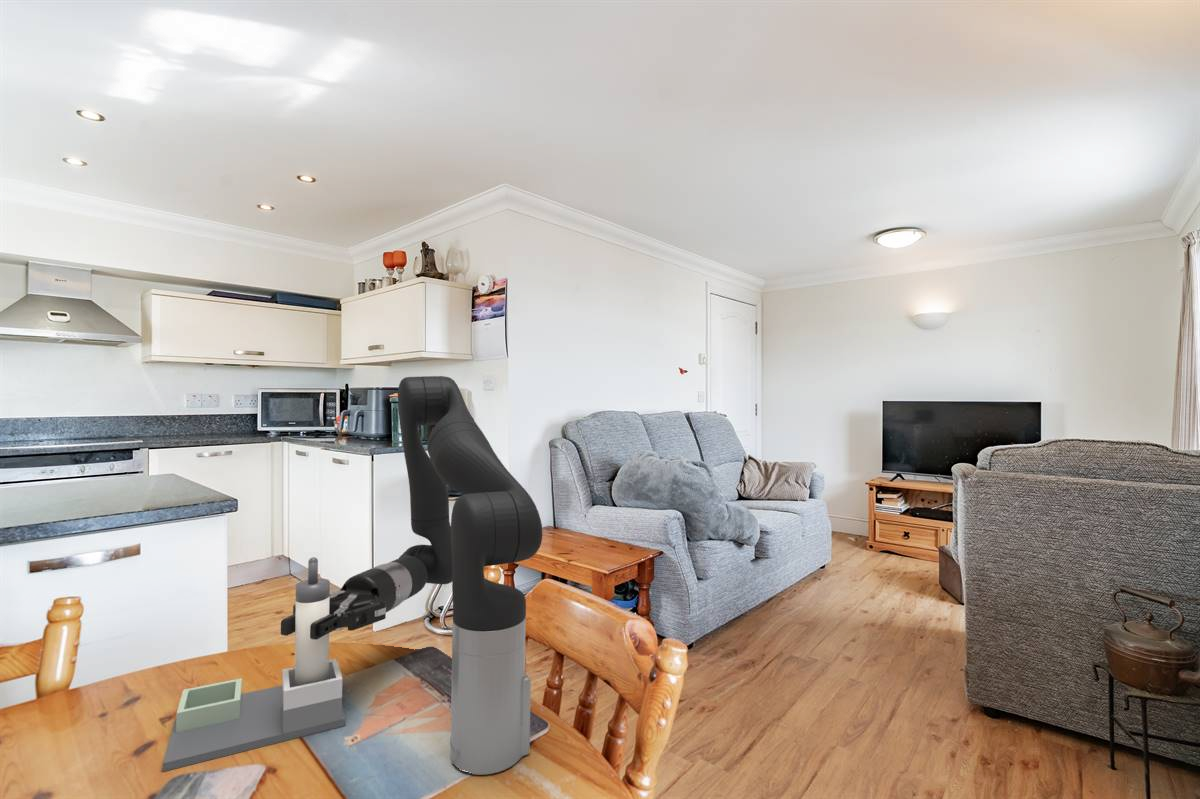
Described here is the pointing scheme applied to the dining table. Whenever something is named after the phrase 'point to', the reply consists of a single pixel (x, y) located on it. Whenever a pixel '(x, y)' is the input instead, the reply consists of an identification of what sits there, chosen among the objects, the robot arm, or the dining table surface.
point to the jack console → (251, 717)
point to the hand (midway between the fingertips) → (298, 630)
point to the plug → (308, 610)
